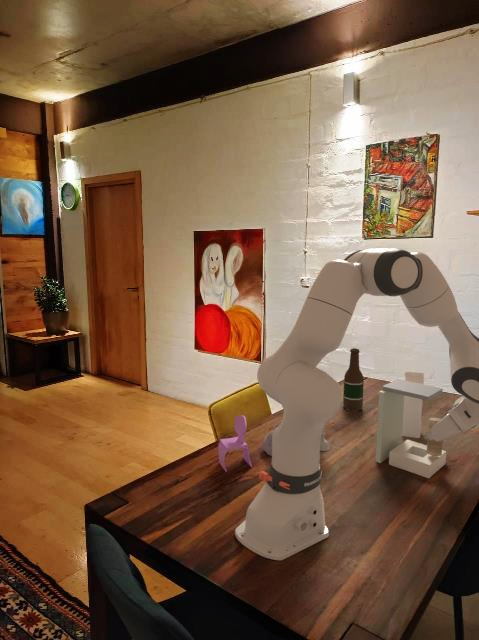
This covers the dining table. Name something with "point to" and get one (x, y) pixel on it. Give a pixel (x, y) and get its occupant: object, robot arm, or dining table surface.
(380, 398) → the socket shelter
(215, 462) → the dining table surface
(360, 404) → the beer bottle
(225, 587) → the dining table surface
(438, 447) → the peg
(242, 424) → the toy chair
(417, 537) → the dining table surface
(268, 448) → the grey conch shell
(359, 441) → the dining table surface
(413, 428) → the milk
